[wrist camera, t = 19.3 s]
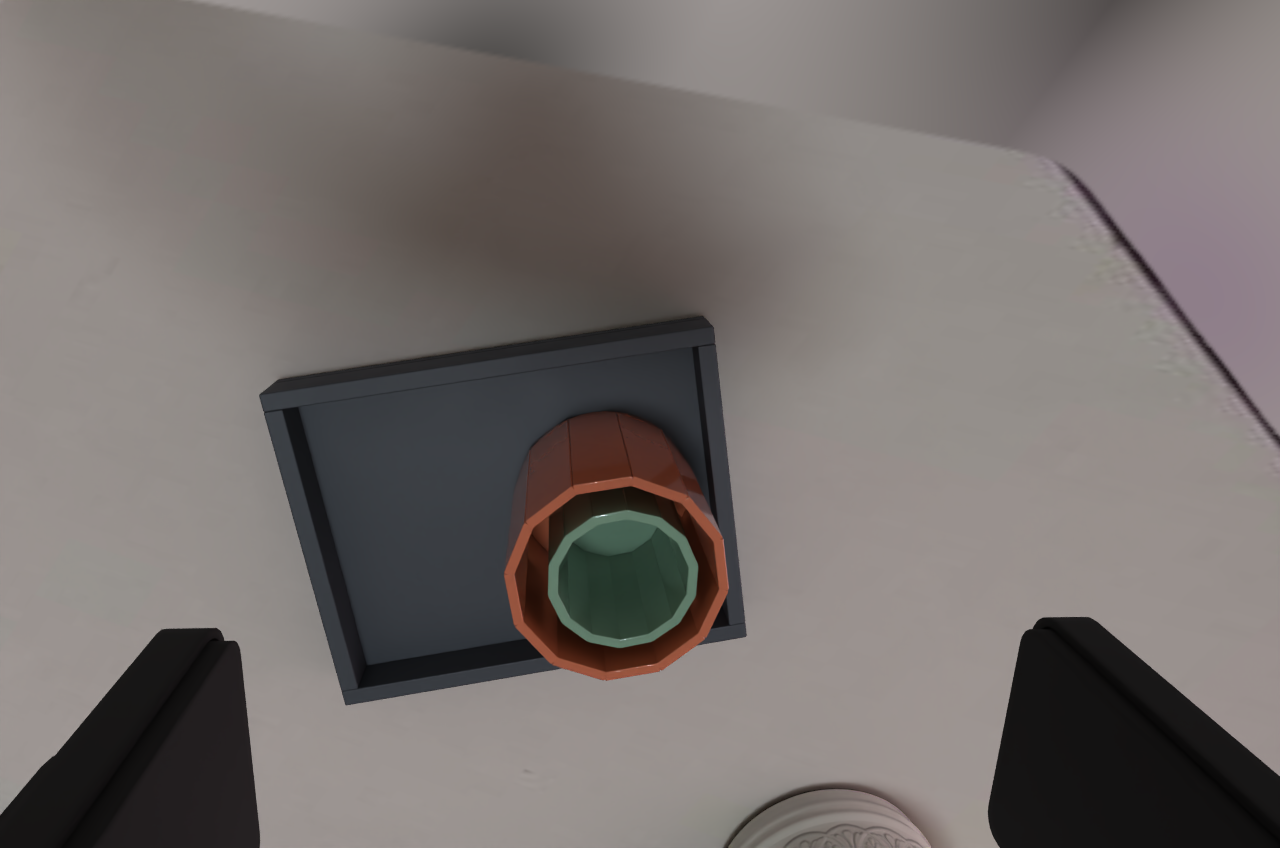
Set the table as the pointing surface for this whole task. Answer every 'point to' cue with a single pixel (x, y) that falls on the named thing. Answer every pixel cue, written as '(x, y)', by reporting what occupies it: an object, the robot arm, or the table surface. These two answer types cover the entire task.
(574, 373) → the tray
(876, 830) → the jar
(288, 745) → the table surface
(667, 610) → the sage cup
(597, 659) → the terracotta cup
